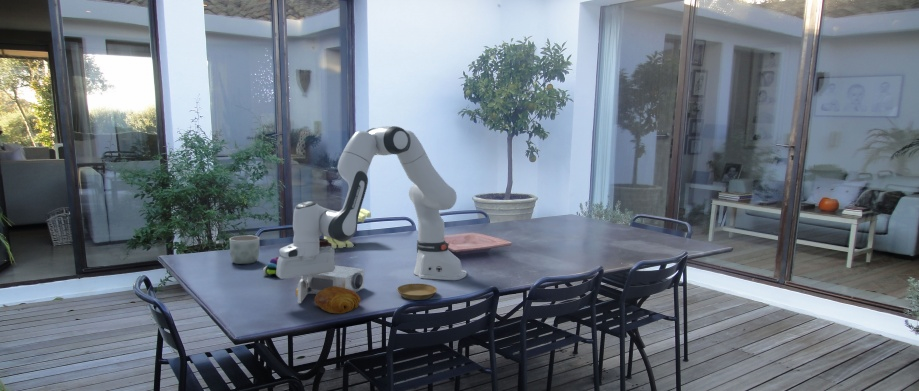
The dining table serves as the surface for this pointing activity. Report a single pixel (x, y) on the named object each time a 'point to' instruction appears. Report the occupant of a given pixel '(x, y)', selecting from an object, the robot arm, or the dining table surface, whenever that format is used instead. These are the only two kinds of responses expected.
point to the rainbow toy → (271, 267)
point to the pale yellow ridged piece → (339, 244)
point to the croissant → (337, 299)
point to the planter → (244, 249)
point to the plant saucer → (417, 291)
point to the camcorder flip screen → (301, 291)
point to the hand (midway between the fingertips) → (306, 287)
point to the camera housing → (338, 279)
